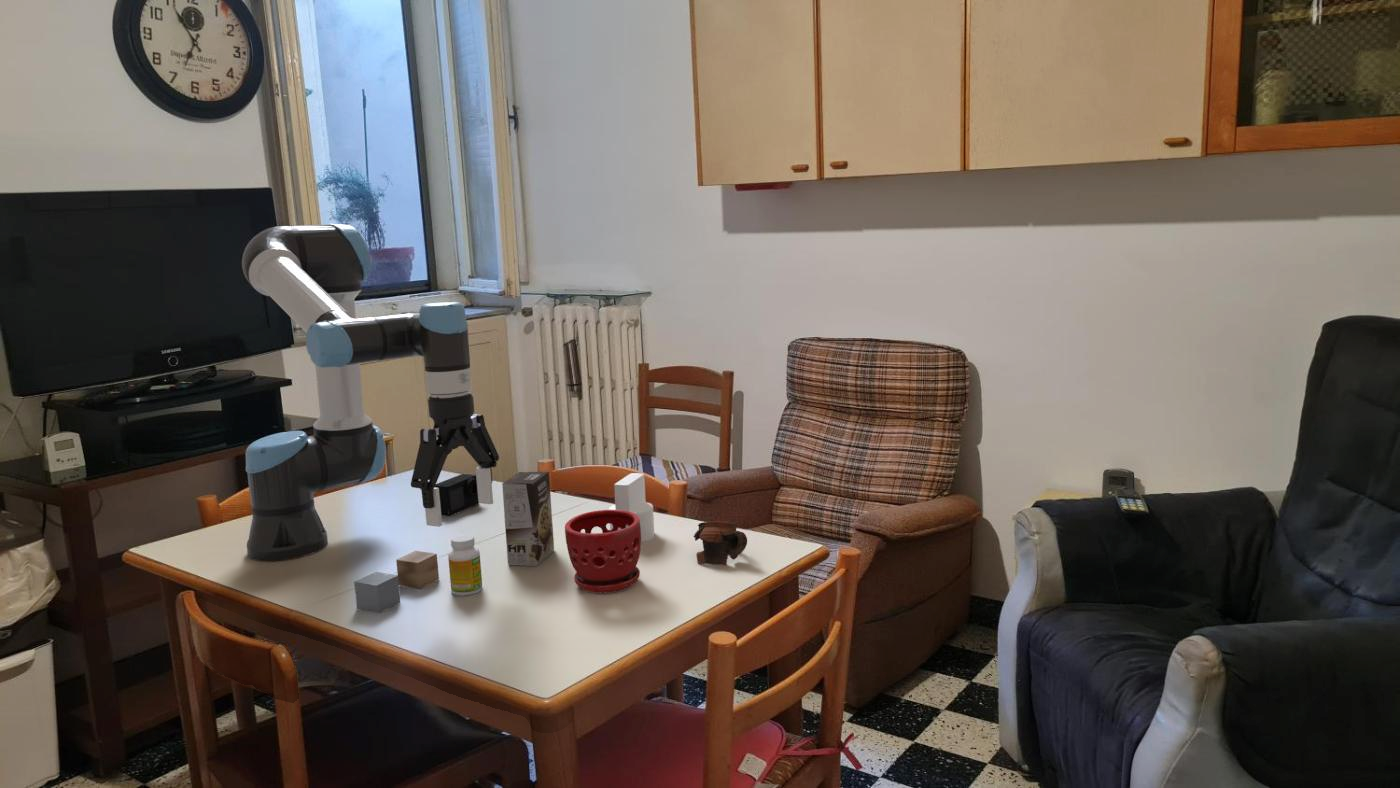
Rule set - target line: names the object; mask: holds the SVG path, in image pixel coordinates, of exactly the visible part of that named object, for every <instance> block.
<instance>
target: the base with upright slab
mask: <svg viewBox="0 0 1400 788" xmlns="http://www.w3.org/2000/svg"><path fill="white" fill-rule="evenodd" d="M613 486H614V488H613V489H614V504H612V505H611V506H609V508H608V510H623V511H628V512H632V513H634V514H636V515H637V516H638V517H639V520H640V527H641V543H643V541H644V542H646V541H650V540H651V539H653V538H654V537H655V523H654V521H655V519H654V505H653V503H650V502H647V501H646V484H645V474H644V473H637V472H636V473H635V472H634V473H633V472H631V473H629V474H627V475H626V476H624V477H623V478H622V479H620V480H618V481H617V482H616V483H614V484H613ZM626 527H628V525H626ZM612 529H613V525H612V524H610V523H609V530H612ZM618 530H621V528H618ZM633 543H634V542H633Z"/></svg>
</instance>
